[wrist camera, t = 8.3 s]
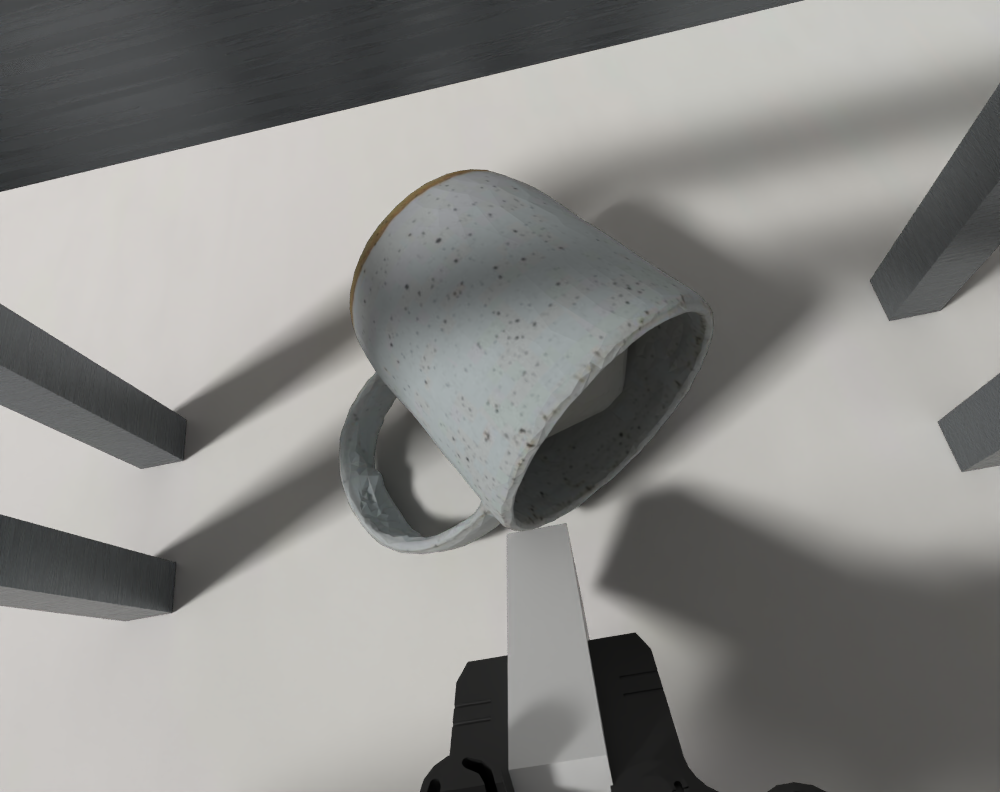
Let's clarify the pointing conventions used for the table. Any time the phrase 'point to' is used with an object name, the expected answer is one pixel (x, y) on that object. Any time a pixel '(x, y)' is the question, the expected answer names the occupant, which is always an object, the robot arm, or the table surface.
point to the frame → (305, 94)
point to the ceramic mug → (511, 353)
